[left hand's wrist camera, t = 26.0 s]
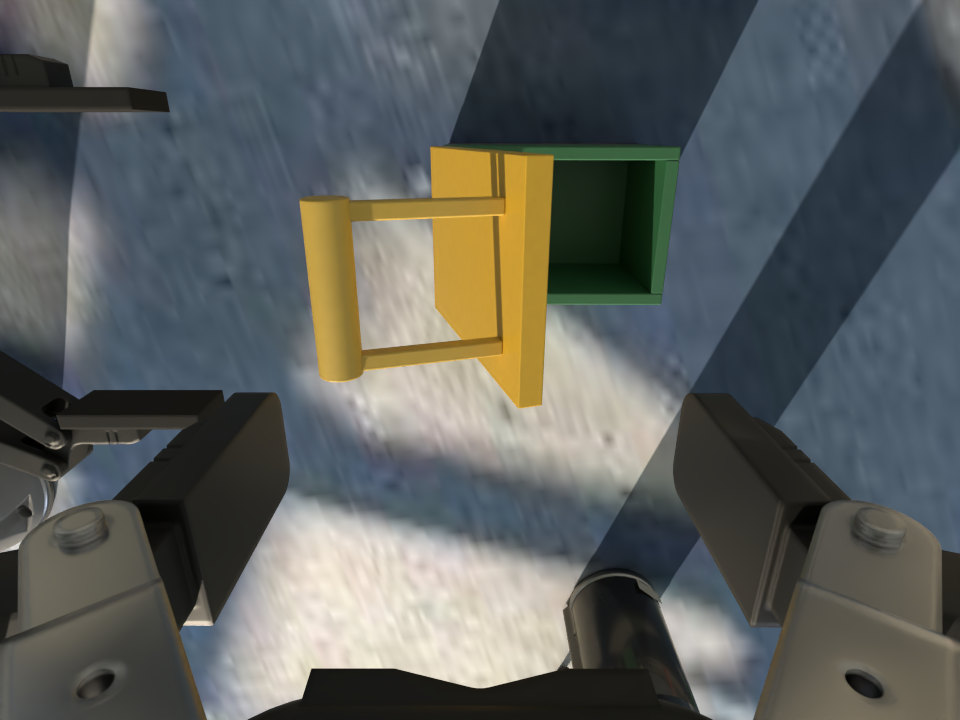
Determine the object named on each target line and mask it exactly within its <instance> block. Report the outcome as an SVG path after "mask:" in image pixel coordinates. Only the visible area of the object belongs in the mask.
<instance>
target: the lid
mask: <svg viewBox="0 0 960 720" xmlns="http://www.w3.org/2000/svg"><path fill="white" fill-rule="evenodd" d="M553 163H554V155H552V154H539V153H526V152H514V151H501V150H488V149H476V148H463V147H450V146H431V179H432V198H416V199H383V200H349V198H348V197H345V196H309V197H303V198H301V199H300V209H301V218H302V227H303V235H304V244H305V253H306V262H307V270H308V279H309V288H310V297H311V305H312V314H313V323H314V331H315V340H316V349H317V358H318V366H319V375H320V377H321V378H322V379H323V380H325V381H329V382H346V381H350V380H354V379H356V378H358V377H360V376H361V375H362V374H363V371H366V370H375V369H384V368H393V367H402V366H411V365H419V364H428V363H437V362H446V361H455V360H464V359H473V358H477V359H478V360H479V361H480V362H481V364H482V365H483V366H484V367H485V369H486V370H487V371H488V372H489V373H490V375H491V376H492V377H493V378H494V379H495V381H496V382H497V383H498V384H499V386H500V387H501V388H502V389H503V390H504V392H505V393H506V394H507V395H508V397H509V398H510V399H511V400H512V401H513V403H514V404H515V405H516V406H517V407H518V408H526V407H533V406H540V405H542V390H543V369H544V349H545V328H546V307H547V287H548V266H549V245H550V225H551V204H552V183H553ZM428 218H433V248H434V283H435V308H436V309H437V310H438V311H439V313H440V314H441V315H442V316H443V317H444V319H445V320H446V321H447V322H448V324H449V325H450V326H451V327H452V328H453V330H454V331H455V332H456V333H457V334H458V336H459V337H460V338H461V339H462V340H458V341H448V342H438V343H429V344H419V345H409V346H400V347H390V348H380V349H370V350H362V347H361V335H360V323H359V311H358V298H357V286H356V274H355V262H354V250H353V238H352V225H351V222H353V221H378V220H403V219H428Z"/></svg>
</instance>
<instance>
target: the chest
mask: <svg viewBox="0 0 960 720" xmlns="http://www.w3.org/2000/svg"><path fill="white" fill-rule="evenodd" d="M444 146H450V147H463V148H476V149H488V150H501V151H514V152H526V153H539V154H552V155H554V163H553V183H552V204H551V225H550V245H549V266H548V287H547V304H591V305H660V304H661V300H662V293H663V286H664V278H665V270H666V262H667V254H668V246H669V239H670V231H671V223H672V215H673V207H674V199H675V192H676V184H677V176H678V168H679V159H680V151H681V147H678V146H661V145H645V144H487V143H449V144H447V145H444Z"/></svg>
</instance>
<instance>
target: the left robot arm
mask: <svg viewBox="0 0 960 720" xmlns="http://www.w3.org/2000/svg"><path fill="white" fill-rule="evenodd" d="M289 473H290V464H289V456H288V449H287V442H286V436H285V429H284V422H283V415H282V409H281V403H280V400H279V397H278V396H277V394H276V393H234V394H233V395H231V397H230V398H229V399H228V400H227V401H226V402H225V403H224V404H223V405H222V406H221V407H220V408H219V409H218V410H217V411H216V412H215V413H214V414H213V415H212V416H211V417H205V418H203V419H201V420H200V421H198V422H196V423H194V424H192V425H191V426H189V427H187V428H185V429H183V430H182V431H181V432H180V433H179V434H178V435H177V436H176V437H175V438H174V439H173V440H172V441H171V442H170V443H169V444H168V445H167V448H166V449H163V450H162V451H161V452H160V453H159V454H158V455H157V456H156V457H155V458H154V461H153V462H150V463H149V464H148V465H147V466H146V467H145V468H144V469H143V470H141V471H140V472H139V473H138V474H137V475H136V476H135V477H134V478H133V479H132V480H131V481H130V482H129V483H128V484H127V485H126V486H125V487H124V488H123V489H122V490H121V491H120V492H119V493H118V494H117V495H116V496H115V497H114V498H113V499H112V500H103V501H95V502H90V503H86V504H82V505H79V506H76V507H73V508H70V509H67V510H65V511H63V512H60V513H58V514H56V515H54V516H52V517H50V518H48V519H47V520H45V521H44V522H42V523H40V524H39V525H38V526H36V527H35V528H34V529H32V530H31V531H30V532H29V533H28V534H27V535H26V536H25V538H24V539H23V540H22V542H21V544H20V546H19V549H18V550H13V551H7V552H2V553H0V720H207V719H206V716H205V712H204V709H203V706H202V703H201V700H200V697H199V693H198V690H197V687H196V684H195V681H194V678H193V675H192V671H191V668H190V665H189V662H188V659H187V656H186V652H185V649H184V646H183V643H182V640H181V637H180V634H179V632H180V630H181V628H182V627H183V625H214V623H215V621H216V620H217V618H218V616H219V614H220V612H221V610H222V609H223V607H224V605H225V603H226V601H227V599H228V598H229V596H230V594H231V592H232V590H233V588H234V587H235V585H236V583H237V581H238V579H239V577H240V575H241V574H242V572H243V570H244V568H245V566H246V564H247V563H248V561H249V559H250V557H251V555H252V553H253V552H254V550H255V548H256V546H257V544H258V542H259V541H260V539H261V537H262V535H263V533H264V531H265V529H266V528H267V526H268V524H269V522H270V520H271V518H272V517H273V515H274V513H275V511H276V509H277V507H278V506H279V504H280V502H281V500H282V498H283V496H284V494H285V492H286V490H287V486H288V482H289ZM673 475H674V483H675V487H676V491H677V493H678V496H679V497H680V499H681V501H682V503H683V505H684V507H685V508H686V510H687V512H688V514H689V516H690V517H691V519H692V521H693V523H694V525H695V527H696V528H697V530H698V532H699V534H700V536H701V537H702V539H703V541H704V543H705V545H706V547H707V548H708V550H709V552H710V554H711V556H712V557H713V559H714V561H715V563H716V565H717V566H718V568H719V570H720V572H721V574H722V576H723V577H724V579H725V581H726V583H727V585H728V586H729V588H730V590H731V592H732V594H733V596H734V597H735V599H736V601H737V603H738V605H739V606H740V608H741V610H742V612H743V614H744V616H745V617H746V619H747V621H748V623H749V625H750V626H751V627H782V630H781V634H780V637H779V640H778V643H777V646H776V649H775V652H774V656H773V659H772V662H771V665H770V668H769V671H768V675H767V678H766V681H765V684H764V687H763V690H762V693H761V697H760V700H759V703H758V706H757V709H756V712H755V716H754V719H753V720H960V554H959V553H954V552H948V551H944V550H941V546H940V544H939V542H938V540H937V539H936V538H935V536H934V535H933V534H932V533H931V532H930V531H929V530H928V529H926V528H925V527H924V526H922V525H921V524H920V523H918V522H916V521H915V520H913V519H912V518H910V517H908V516H906V515H904V514H902V513H900V512H897V511H895V510H893V509H890V508H887V507H884V506H881V505H878V504H874V503H870V502H865V501H857V500H851V499H850V498H849V497H848V496H847V495H846V494H845V493H844V492H843V491H842V490H841V489H840V488H839V487H838V486H837V485H836V484H835V483H834V482H833V481H832V480H831V479H830V478H829V477H828V476H827V475H826V474H825V473H824V472H823V471H822V470H821V469H820V468H819V467H818V466H816V465H815V464H814V463H811V462H810V459H809V458H808V457H807V456H806V455H805V454H804V453H803V452H802V451H801V450H797V446H796V445H795V444H794V443H793V442H792V441H791V440H790V439H789V438H788V437H787V436H786V435H785V434H784V433H783V432H782V431H780V430H779V429H777V428H775V427H773V426H771V425H769V424H768V423H766V422H764V421H762V420H760V419H759V418H752V417H751V416H750V415H749V414H748V413H747V411H746V410H745V409H744V408H743V407H742V406H741V405H740V404H739V403H738V402H737V401H736V400H735V399H734V398H733V397H732V396H731V395H730V394H728V393H689V394H687V395H686V397H685V398H684V401H683V404H682V410H681V416H680V423H679V430H678V436H677V443H676V450H675V456H674V464H673ZM658 601H659V602H660V603H661V600H660V598H659V595H658V593H656V592H655V591H654V589H653V587H652V585H651V584H650V583H649V581H648V580H646V579H645V578H644V577H642V576H641V575H639V574H637V573H634V572H632V571H628V570H621V569H612V570H605V571H601V572H598V573H595V574H593V575H591V576H589V577H587V578H586V579H584V580H583V581H582V582H580V583H579V584H578V585H577V587H576V588H575V589H574V591H573V592H572V594H571V597H570V601H569V605H568V607H566V608H565V609H564V610H563V615H564V620H565V626H566V632H567V638H568V643H569V649H570V655H571V661H572V666H573V669H569V668H568V667H563V668H561V669H559V670H558V671H554V672H550V673H546V674H542V675H538V676H534V677H530V678H526V679H522V680H518V681H513V682H509V683H505V684H501V685H497V686H493V687H489V688H471V687H467V686H463V685H459V684H455V683H451V682H447V681H442V680H438V679H434V678H430V677H426V676H422V675H418V674H414V673H410V672H406V671H402V670H398V669H311V672H310V675H309V679H308V682H307V685H306V688H305V691H304V694H303V698H302V699H299V700H295V701H291V702H288V703H286V704H283V705H280V706H277V707H274V708H272V709H269V710H267V711H265V712H263V713H261V714H258V715H256V716H254V717H252V718H250V719H248V720H712V719H710V718H708V717H706V716H704V715H702V714H700V712H699V710H698V707H697V704H696V702H695V699H694V696H693V694H692V691H691V689H690V686H689V683H688V681H687V678H686V675H685V673H684V670H683V667H682V665H681V662H680V659H679V657H678V654H677V651H676V649H675V646H674V644H673V641H672V638H671V636H670V633H669V630H668V628H667V625H666V622H665V620H664V617H663V614H662V612H661V609H660V605H659V603H658ZM661 604H662V603H661Z"/></svg>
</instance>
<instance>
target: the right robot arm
mask: <svg viewBox="0 0 960 720" xmlns="http://www.w3.org/2000/svg"><path fill="white" fill-rule="evenodd" d="M0 111H1V112H170V111H169V106H168V100H167V95H166V92H159V91H152V90H145V89H137V88H130V87H73V83H72V79H71V75H70V71H69V67H68V65H67V64H65V63H63V62H60V61H58V60H55V59H51V58H46V57H40V56H34V55H29V54H0ZM224 403H225V402H224V396H223V391H222V390H93V391H92V392H90V393H89V394H87V395H86V396H84V397H83V398H81V399H80V400H79V399H77V398H76V397H74V396H72V395H71V394H69V393H68V392H66V391H64V390H63V389H61V388H60V387H58V386H56V385H55V384H53V383H52V382H50V381H48V380H47V379H45V378H44V377H42V376H40V375H39V374H37V373H35V372H34V371H32V370H31V369H29V368H27V367H26V366H24V365H23V364H21V363H19V362H18V361H16V360H15V359H13V358H11V357H10V356H8V355H7V354H5V353H3V352H2V351H0V552H1V551H3V550H5V549H7V548H10V547H12V546H14V545H15V544H17V543H19V542H20V541H22V540H23V539H24V538H25V536H26V535H27V534H28V533H29V532H30V531H31V530H32V529H34V528H35V527H36V526H38V525H39V524H40V523H42V522H44V521H45V520H46V519H47V517H48V516H49V514H50V512H51V510H52V506H53V502H54V486H53V482H52V481H57V480H58V479H60V478H61V477H62V476H64V475H65V474H66V473H67V472H68V471H70V470H71V469H72V468H73V467H75V466H76V465H77V464H78V463H79V462H81V461H82V460H83V459H84V458H86V457H87V456H88V455H89V454H90V453H91V452H92V451H93V445H92V444H132V443H135V442H138V441H140V440H141V439H142V438H143V437H145V436H146V435H147V434H148V433H149V432H150V431H151V430H152V429H185V428H187V427H189V426H191V425H192V424H194V423H196V422H198V421H200V420H201V419H203V418H205V417H211V416H212V415H213V414H214V413H215V412H216V411H217V410H218V409H219V408H220V407H221V406H222V405H223V404H224ZM54 418H57V419H56V420H55V419H54Z"/></svg>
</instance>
